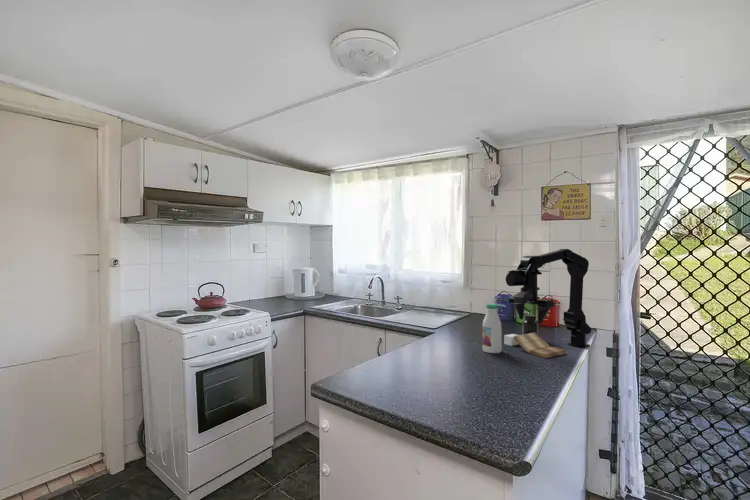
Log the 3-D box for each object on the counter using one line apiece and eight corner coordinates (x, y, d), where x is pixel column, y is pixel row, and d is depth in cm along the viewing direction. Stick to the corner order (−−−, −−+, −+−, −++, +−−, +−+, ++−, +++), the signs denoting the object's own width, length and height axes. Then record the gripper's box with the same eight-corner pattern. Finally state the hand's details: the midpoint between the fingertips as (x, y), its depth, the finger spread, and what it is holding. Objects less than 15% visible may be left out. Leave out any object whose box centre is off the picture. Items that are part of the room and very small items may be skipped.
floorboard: (550, 349, 152) (550, 346, 152) (565, 353, 146) (565, 350, 146) (529, 353, 146) (529, 350, 146) (544, 358, 140) (544, 354, 140)
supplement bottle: (536, 343, 163) (535, 317, 163) (520, 341, 167) (520, 315, 167) (539, 340, 168) (539, 315, 168) (524, 338, 172) (524, 313, 172)
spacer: (513, 342, 165) (513, 333, 165) (520, 344, 161) (520, 335, 161) (504, 344, 162) (504, 335, 162) (511, 346, 159) (511, 337, 159)
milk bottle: (499, 348, 154) (498, 303, 154) (503, 354, 146) (503, 305, 146) (480, 348, 154) (480, 302, 154) (484, 353, 147) (484, 305, 147)
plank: (533, 335, 160) (534, 332, 159) (548, 348, 153) (550, 346, 152) (513, 338, 154) (514, 335, 153) (528, 353, 147) (530, 350, 146)
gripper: (499, 284, 156) (500, 319, 156) (537, 288, 140) (538, 327, 140) (516, 283, 162) (517, 317, 162) (554, 286, 146) (555, 324, 146)
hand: (530, 321), depth 152 cm, fingers open, 9 cm apart
